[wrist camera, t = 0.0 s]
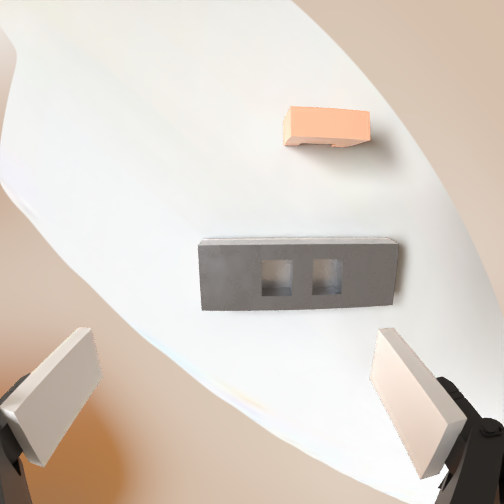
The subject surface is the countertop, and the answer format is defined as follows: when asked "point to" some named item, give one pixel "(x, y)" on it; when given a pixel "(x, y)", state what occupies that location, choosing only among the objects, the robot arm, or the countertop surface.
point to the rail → (296, 273)
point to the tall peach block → (325, 126)
